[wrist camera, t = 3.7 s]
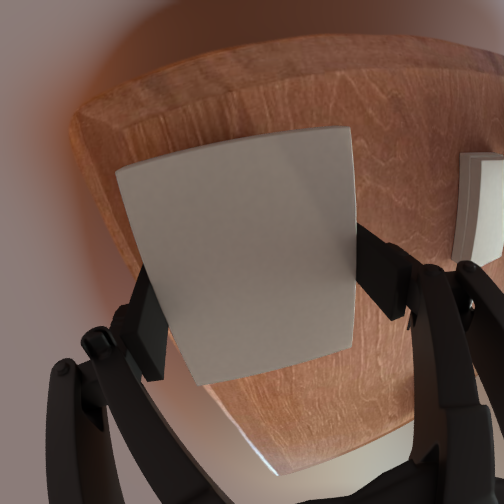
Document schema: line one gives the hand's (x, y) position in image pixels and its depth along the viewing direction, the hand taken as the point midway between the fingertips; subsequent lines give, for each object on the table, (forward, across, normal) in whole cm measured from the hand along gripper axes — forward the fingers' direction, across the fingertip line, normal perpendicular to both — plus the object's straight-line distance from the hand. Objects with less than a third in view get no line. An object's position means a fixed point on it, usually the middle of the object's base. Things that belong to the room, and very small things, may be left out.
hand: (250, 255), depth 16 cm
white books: (+5, +26, -3) cm, 27 cm away
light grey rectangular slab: (-1, 0, 0) cm, 1 cm away
